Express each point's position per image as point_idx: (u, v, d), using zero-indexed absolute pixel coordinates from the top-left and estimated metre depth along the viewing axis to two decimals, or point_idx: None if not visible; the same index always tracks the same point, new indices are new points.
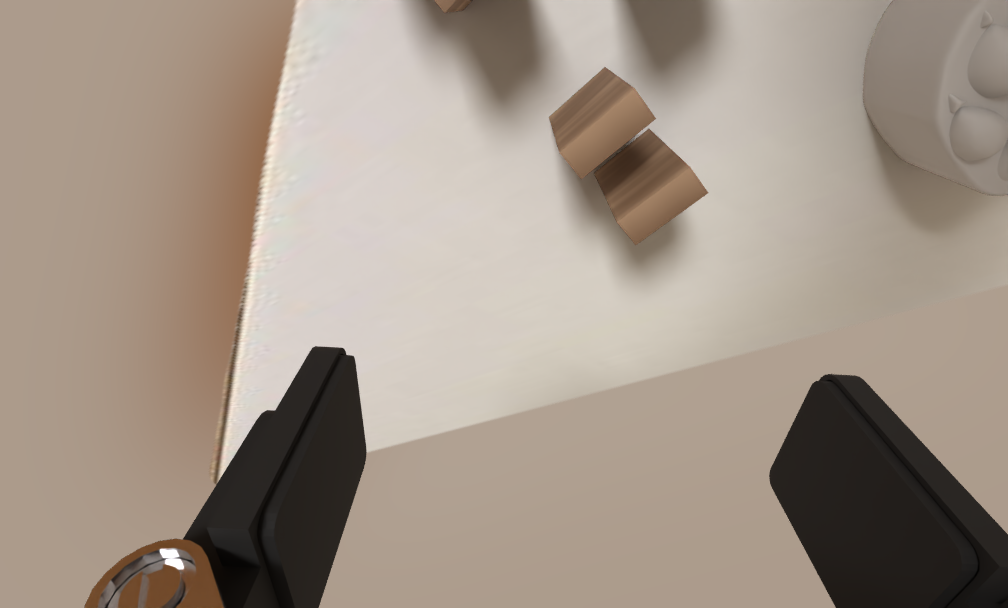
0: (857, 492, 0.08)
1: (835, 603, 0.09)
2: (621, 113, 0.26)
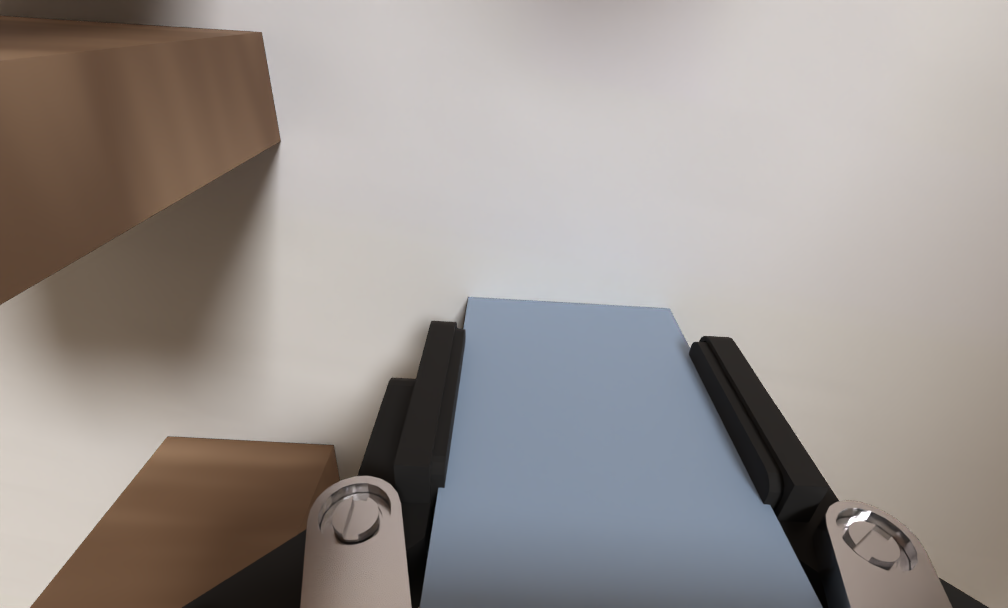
0: None
1: None
2: None
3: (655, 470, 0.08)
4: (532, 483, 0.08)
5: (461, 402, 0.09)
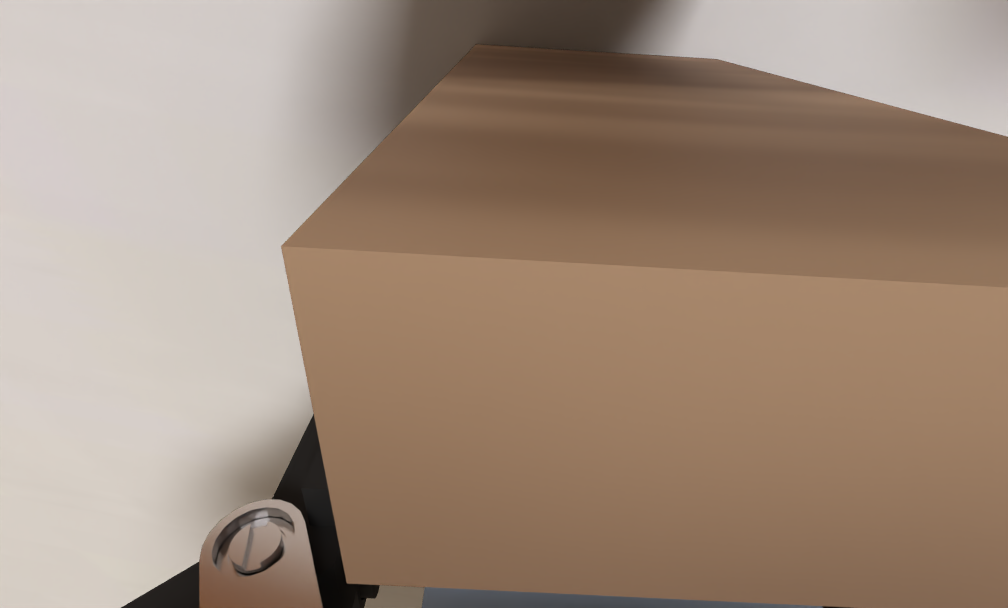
0: None
1: None
2: None
3: None
4: None
5: None
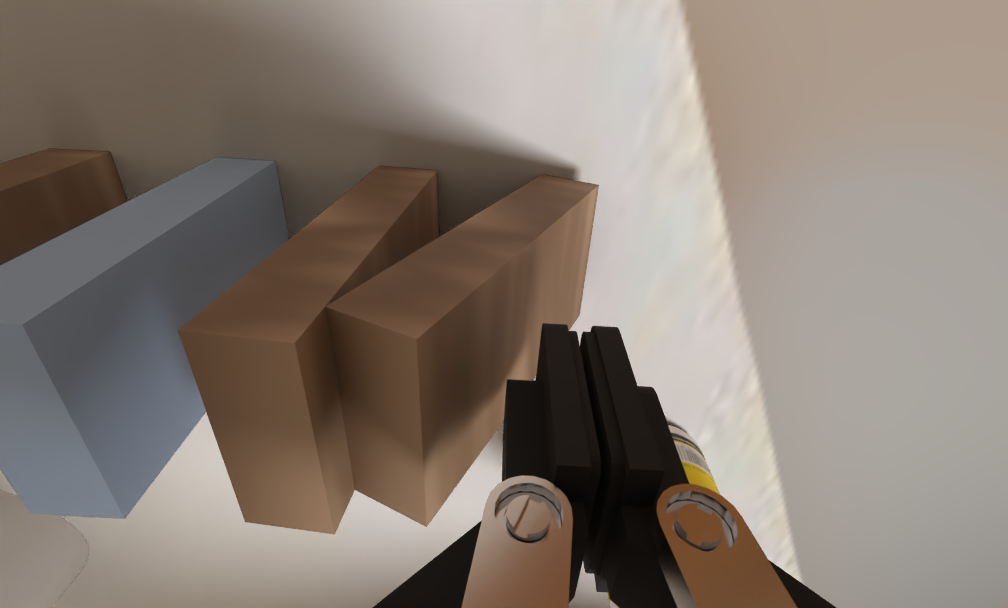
0: None
1: None
2: None
3: None
4: (196, 273, 0.13)
5: (219, 204, 0.14)
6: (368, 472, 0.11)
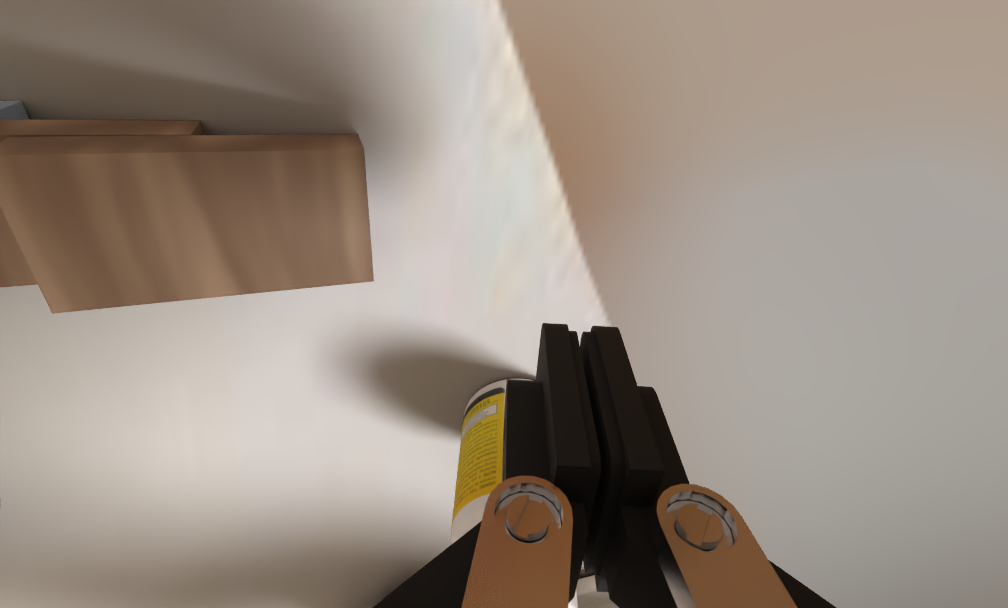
0: None
1: None
2: None
3: None
4: None
5: None
6: None
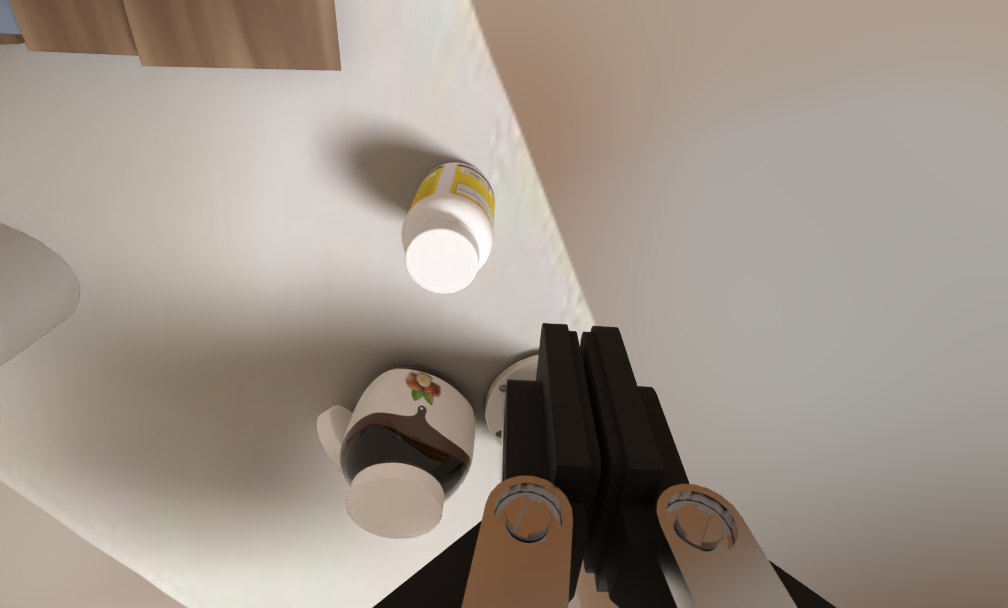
0: None
1: None
2: None
3: None
4: None
5: None
6: None
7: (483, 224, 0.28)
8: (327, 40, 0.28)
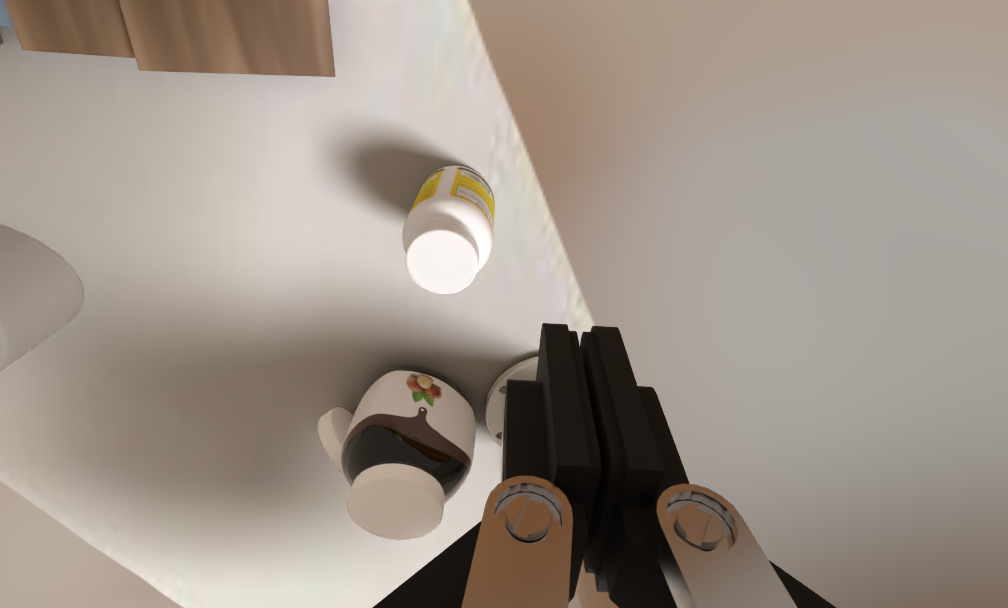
0: None
1: None
2: None
3: None
4: None
5: None
6: None
7: (483, 225, 0.29)
8: (321, 47, 0.29)
